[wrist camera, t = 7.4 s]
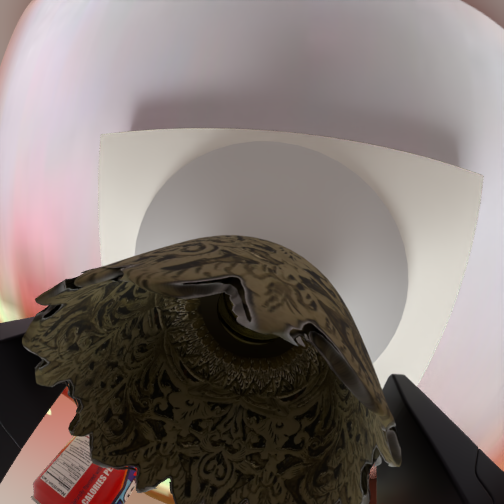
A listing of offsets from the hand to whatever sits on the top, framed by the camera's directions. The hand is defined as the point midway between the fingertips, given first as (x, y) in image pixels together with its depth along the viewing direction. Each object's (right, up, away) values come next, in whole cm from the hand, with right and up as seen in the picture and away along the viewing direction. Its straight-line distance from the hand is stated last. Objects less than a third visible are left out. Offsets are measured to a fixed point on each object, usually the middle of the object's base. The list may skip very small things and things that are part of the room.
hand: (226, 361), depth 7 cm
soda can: (-13, -16, +16) cm, 26 cm away
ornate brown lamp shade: (+1, +1, +4) cm, 4 cm away
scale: (+2, +1, +7) cm, 8 cm away
